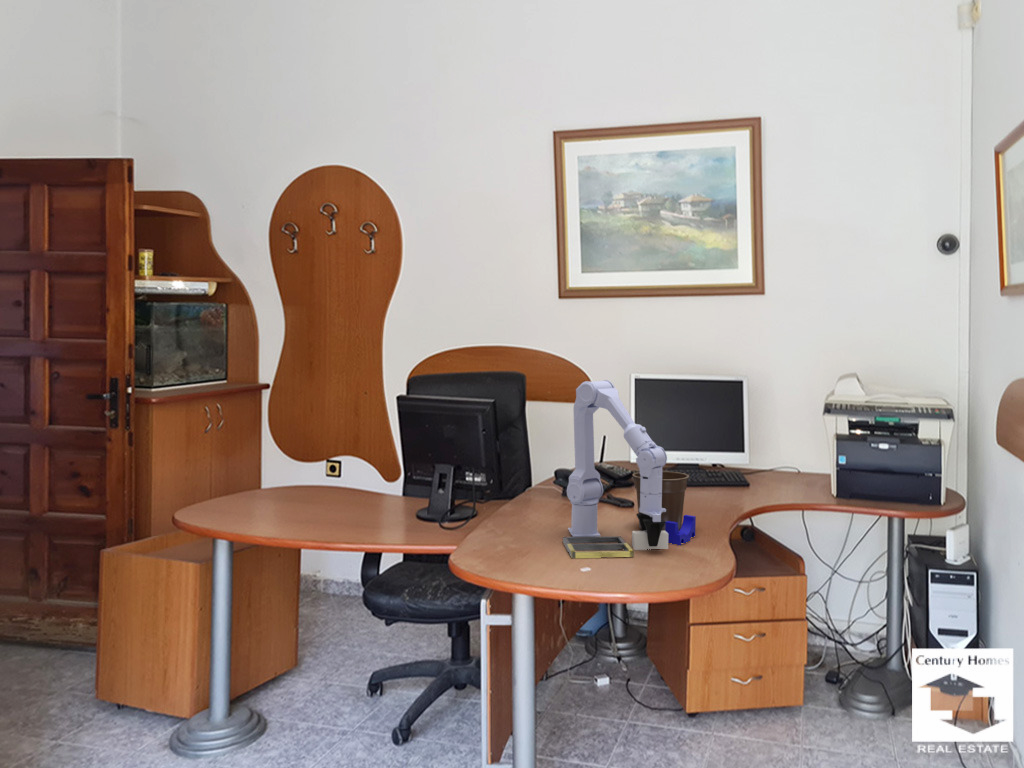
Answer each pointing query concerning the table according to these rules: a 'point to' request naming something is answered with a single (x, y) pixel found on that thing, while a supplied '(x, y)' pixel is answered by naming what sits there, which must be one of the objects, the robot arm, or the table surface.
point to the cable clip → (681, 530)
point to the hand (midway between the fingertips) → (650, 543)
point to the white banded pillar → (642, 540)
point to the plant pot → (669, 495)
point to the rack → (597, 547)
